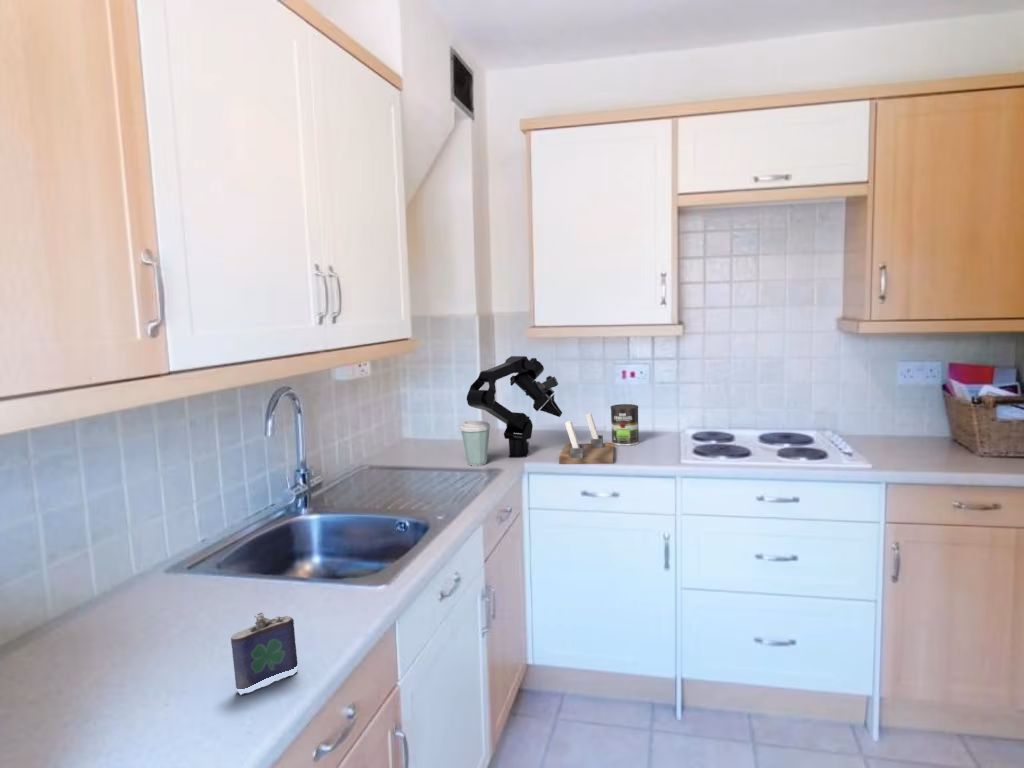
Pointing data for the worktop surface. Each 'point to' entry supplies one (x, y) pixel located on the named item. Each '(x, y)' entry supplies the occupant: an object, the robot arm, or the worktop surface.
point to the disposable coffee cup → (475, 441)
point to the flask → (263, 650)
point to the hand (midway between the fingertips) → (561, 415)
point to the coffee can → (624, 424)
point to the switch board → (588, 453)
